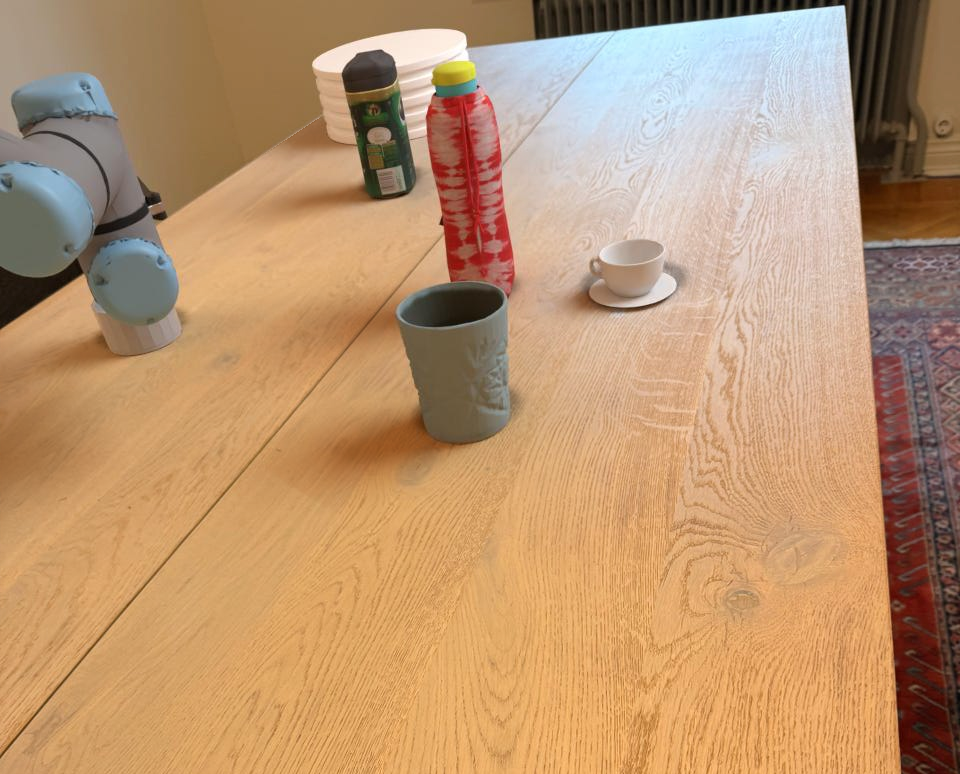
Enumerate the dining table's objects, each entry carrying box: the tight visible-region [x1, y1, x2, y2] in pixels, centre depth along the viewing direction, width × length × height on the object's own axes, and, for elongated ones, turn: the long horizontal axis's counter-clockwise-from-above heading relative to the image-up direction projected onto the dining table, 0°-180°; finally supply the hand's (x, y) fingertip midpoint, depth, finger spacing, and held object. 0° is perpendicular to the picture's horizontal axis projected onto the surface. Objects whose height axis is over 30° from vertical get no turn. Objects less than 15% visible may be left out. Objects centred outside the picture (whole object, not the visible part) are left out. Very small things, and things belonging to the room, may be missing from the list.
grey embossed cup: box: [395, 281, 511, 445], centre depth 89 cm, size 10×10×12 cm
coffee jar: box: [342, 49, 417, 199], centre depth 141 cm, size 10×8×19 cm
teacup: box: [588, 238, 677, 308], centre depth 107 cm, size 10×10×5 cm
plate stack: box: [311, 28, 470, 146], centre depth 172 cm, size 28×28×12 cm
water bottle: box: [426, 60, 516, 300], centre depth 105 cm, size 12×8×25 cm, turn 5°
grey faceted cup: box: [90, 299, 183, 357], centre depth 117 cm, size 9×9×6 cm
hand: (81, 186), depth 110 cm, fingers closed on sprinkles bottle, 4 cm apart
